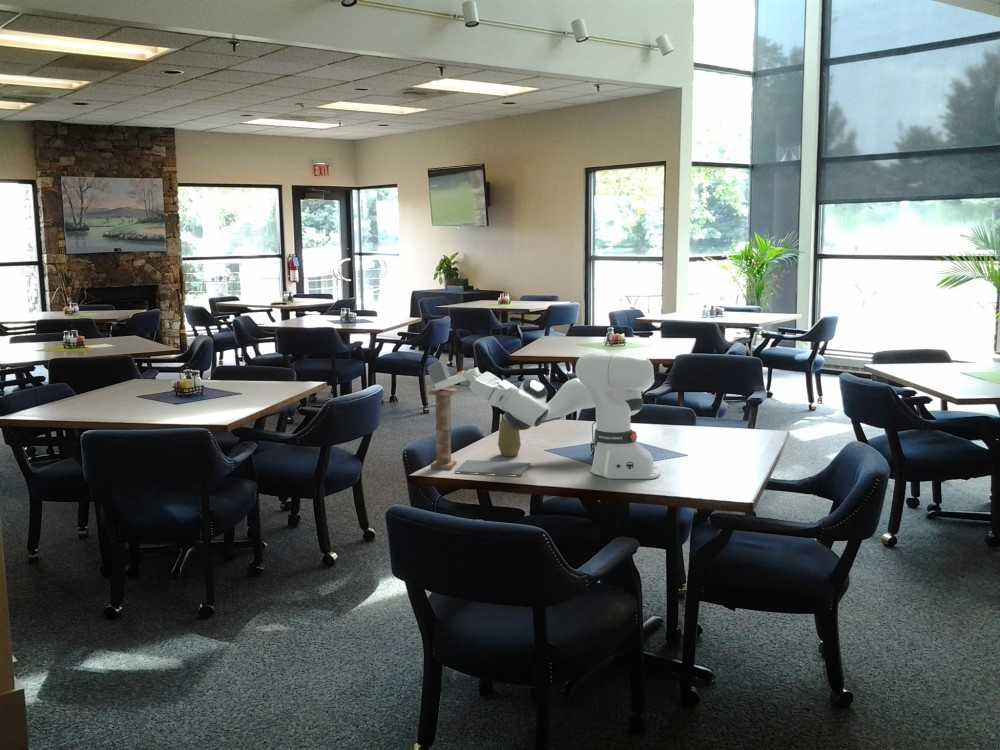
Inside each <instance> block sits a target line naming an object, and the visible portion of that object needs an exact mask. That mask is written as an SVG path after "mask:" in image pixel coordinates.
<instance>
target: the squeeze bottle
mask: <svg viewBox="0 0 1000 750" xmlns="http://www.w3.org/2000/svg"><path fill="white" fill-rule="evenodd" d="M498 431H499V432H498V439H497V440H498V441H497V445H498V449H499V451H500V455H501V456H504V457H515V456H518V454H519V452H520V448H521V445H522V444H521V443H522V442H521V436H520V430H516V429H513V428H512V427H510V426H509V425H508V423H507V421H506V419H505V414H502V420H501V421H500V422H499V429H498Z"/></svg>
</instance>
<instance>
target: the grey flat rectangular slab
mask: <svg viewBox="0 0 1000 750" xmlns="http://www.w3.org/2000/svg"><path fill="white" fill-rule="evenodd" d="M530 466H531V462H520V461H519V462H515V461H497V460H496V461H495V460H494V461H493V460H492V461H491V460H476V459H466V460H465V461H464V462H463V463H462V464H461V465H459V467H458V468H457V469H455V470H454V473H455V472H460V473H478V474H495V475H494V476H497V475H516V476H515V477H517V476H522V477H523V475H524V474H525V473H526V471H528V469H529V468H528V467H530ZM524 472H525V473H524ZM523 473H524V474H523ZM478 474H477V475H478Z"/></svg>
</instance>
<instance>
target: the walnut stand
mask: <svg viewBox="0 0 1000 750" xmlns="http://www.w3.org/2000/svg"><path fill="white" fill-rule="evenodd" d="M458 389H459V388H449V387H446V388H443V389H440V390H437V391H436V389H435V387H434V388H432V389H431V390H428V391H427V395H429V396H430V395H432V396H435V454H436V455H435V459H436V460H434V461H433V462H432V463H430V469H431V468H434V469H433V470H446V469H451V470H453V469H454V468H455V467H456V466H457V460H452V441H451V440H452V438H451V437H452V431H451V430H452V425H451V424H452V423H451V422H452V421H451V420H452V417H451V416H452V415H451V412H452V411H451V396H453V395H455V394H456V393H458V391H459V390H458ZM455 465H456V466H455ZM454 466H455V467H454ZM453 467H454V468H453ZM452 468H453V469H452Z"/></svg>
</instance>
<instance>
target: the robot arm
mask: <svg viewBox="0 0 1000 750" xmlns="http://www.w3.org/2000/svg"><path fill="white" fill-rule="evenodd" d="M471 369H472V368H468V369H467V370H464V373H463V376H464V377H466V378H467V379H468V381H469V382H470V385H469V386H468V388H469V389H470V390H471V391H472V392H473V393H475V394H476V395H478V396H479V397H480V398H482V399H483V400H485V401H487V404H488V405H489V406H492V407H497V408H499V409H501V411H504V412H503V413H504V414H505V419H506V421H507V423H508V425H509V426H510V427H512V428H513V429H516V430H519V431H526V430H529V429H530V428H532V427H534V428H536V427H539V426H540V425H541V424H545V423H549V422H552V421H556V420H559V419H562V418H564V417H566V416H568V415H569V414H572V413H574V412H577V411H580V410H585V409H593V408H594V409H595V423H596V424H595V427H596V428H595V429H594V433H593V435H594V436H593V437H594V438H593V441H594V442H593V443H594V454H593V455H594V456H593V460H592V464H591V468H590V470H589V471H590V473H592V474H593V475H597V476H601V477H603V478H605V479H613V480H614V479H616V480H622V479H624V480H625V479H627V480H629V479H630V480H631V479H632V480H634V479H635V480H640V479H642V480H643V479H644V480H653V479H657V478H659V477H660V476H661V469H660V468H659V467H657V466H655V464H654V459H653V458H654V457H653V456H652V454H651V452H650V451H649V450H648V449H646V448H645V447H644V446H643V445H642V444H640V443H639V442H637V439H638V435H637V432H636V430H632V429H631V416H635V415H636V414H638V413H640V411H641V410H642V409H643V408H644V399H643V398H642V392H645V391H647V390H649V389H650V388H651V387H652V386H653V384H654V381H655V372H654V371H655V370H654V366H653V363H652V361H650V359H649V358H648V357H646V356H641V355H636V354H627V353H626V354H624V353H615V352H614V353H612V352H611V353H610V352H609V353H608V352H591V353H590V352H589V353H583V354H582V355H580V357H579V358H578V359H577V361H576V364H575V370H574V371H575V374H576V377H574V378H572V379H569V380H567V381H566V382H565V383H563V384H562V385H561V387H560V388H559V389H558V391H557V392H556V393H555V395H554V396H552V398H551V399H550V400H549V401H548V402H547V397H548V393H549V392H548V389H547V387H546V386H545V384H544V383H543V382H541V381H540V380H537V379H536V378H528V379H525V380H523V382H522V383H521V384H520V386H519V387H517V386H516V385H514V384H513V383H511V382H510V381H508V380H506V379H503V380H502V379H501V378H499V377H498V376H497V375H496V374H493V373H491V372H489V371H485V372H483V373H481V372H480V375H478V376H473V375H472V374H470V372H468V370H471ZM504 414H503V415H504ZM659 475H660V476H659Z"/></svg>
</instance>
